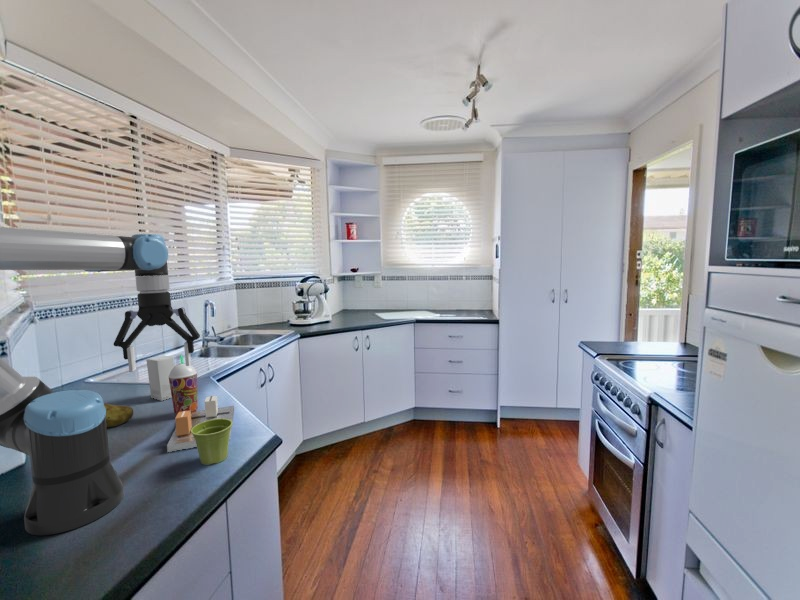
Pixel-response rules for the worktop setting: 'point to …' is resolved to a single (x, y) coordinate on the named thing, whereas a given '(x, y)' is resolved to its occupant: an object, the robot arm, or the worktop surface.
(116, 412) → the potato
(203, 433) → the plant pot
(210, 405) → the fader far
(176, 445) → the console
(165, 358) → the skincare box
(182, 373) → the smoothie
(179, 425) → the fader near
